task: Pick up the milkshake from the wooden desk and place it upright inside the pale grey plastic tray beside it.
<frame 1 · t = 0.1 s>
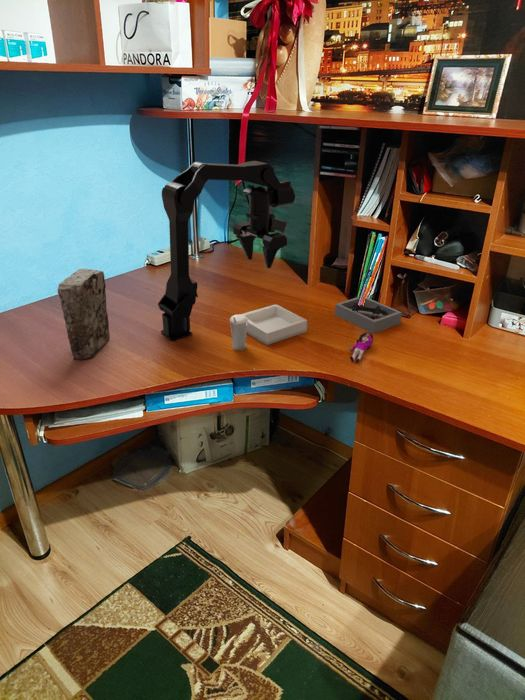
hand: (259, 263, 154), 15 cm above the table, tool pointing down, fingers open, 9 cm apart
stone block: (92, 349, 138), on the table
tray: (271, 329, 149), on the table
character figurine: (359, 354, 138), on the table
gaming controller: (366, 319, 156), resting in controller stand
milkshake: (238, 349, 139), on the table
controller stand: (367, 319, 156), on the table
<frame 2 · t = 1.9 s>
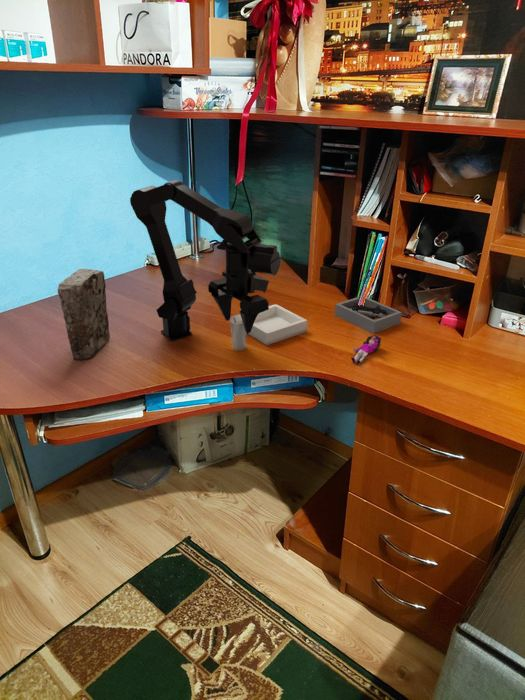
hand: (237, 326, 136), 6 cm above the table, tool pointing down, fingers open, 9 cm apart
character figurine: (364, 356, 137), on the table
everything else where it was.
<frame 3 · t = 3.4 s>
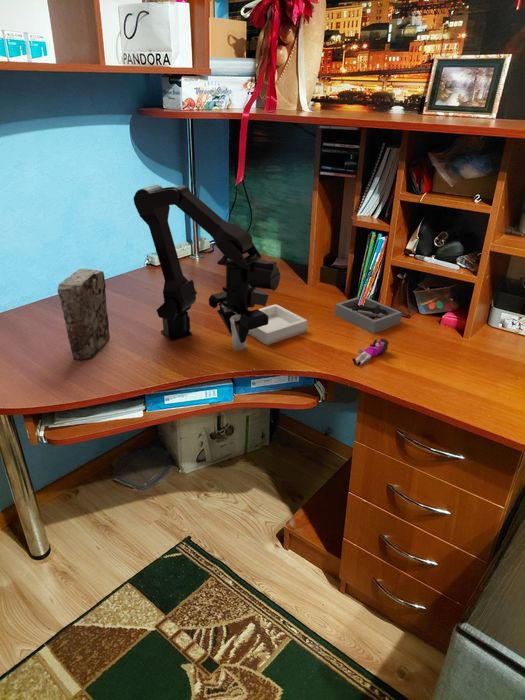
hand: (237, 339, 138), 3 cm above the table, tool pointing down, fingers closed on milkshake, 4 cm apart
character figurine: (368, 358, 136), on the table
milkshake: (238, 349, 139), on the table, touching gripper
everything else where it was.
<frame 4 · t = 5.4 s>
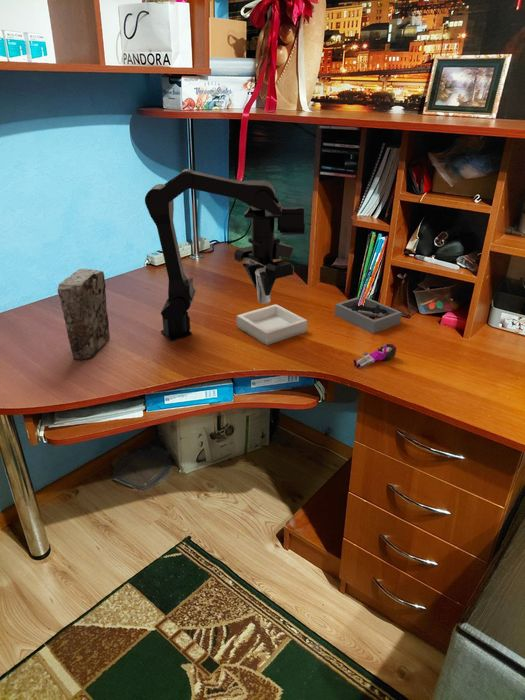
hand: (263, 292, 140), 13 cm above the table, tool pointing down, fingers closed on milkshake, 4 cm apart
character figurine: (373, 362, 134), on the table
milkshake: (263, 303, 141), point 10 cm above the table, touching gripper
everything else where it was.
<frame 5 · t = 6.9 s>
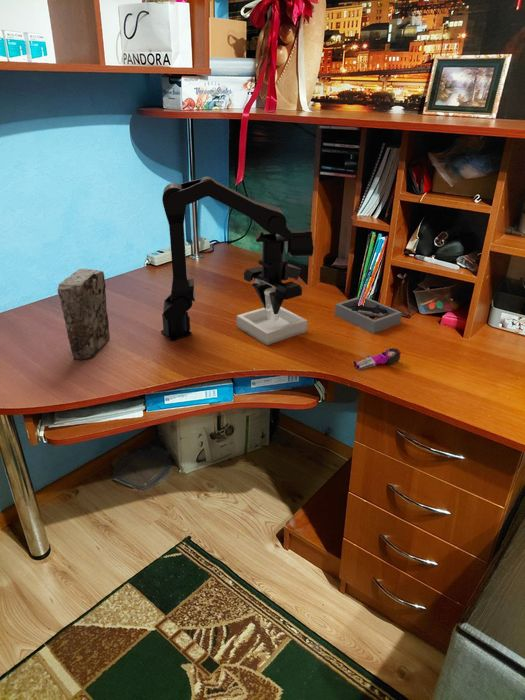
hand: (271, 311, 147), 5 cm above the table, tool pointing down, fingers closed on milkshake, 4 cm apart
character figurine: (375, 365, 133), on the table
milkshake: (272, 320, 148), point 3 cm above the table, touching gripper
everything else where it was.
when the fingers open (5 cm above the table, at t = 7.7 s): milkshake drops 2 cm, resting on tray.
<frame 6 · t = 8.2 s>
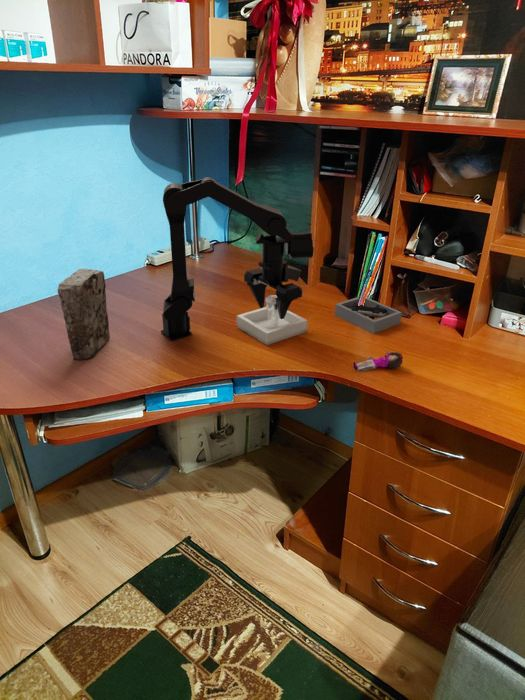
hand: (271, 313, 147), 5 cm above the table, tool pointing down, fingers open, 9 cm apart
character figurine: (376, 368, 131), on the table
milkshake: (272, 327, 149), point 1 cm above the table, touching tray
everything else where it was.
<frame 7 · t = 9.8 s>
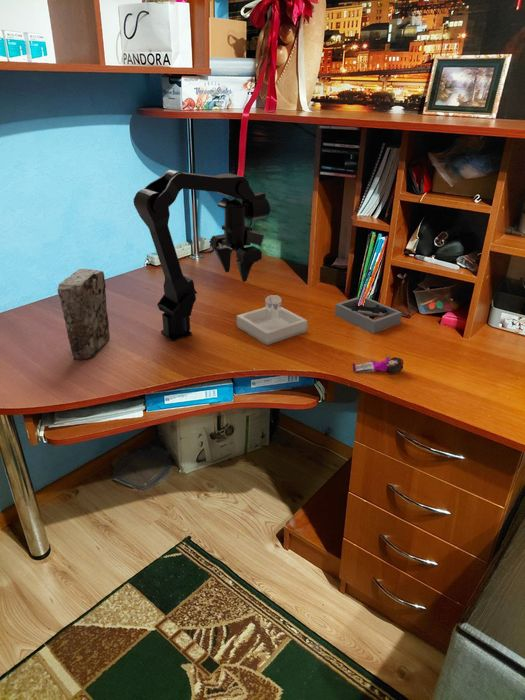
hand: (235, 276, 152), 12 cm above the table, tool pointing down, fingers open, 9 cm apart
character figurine: (376, 372, 130), on the table
everything else where it was.
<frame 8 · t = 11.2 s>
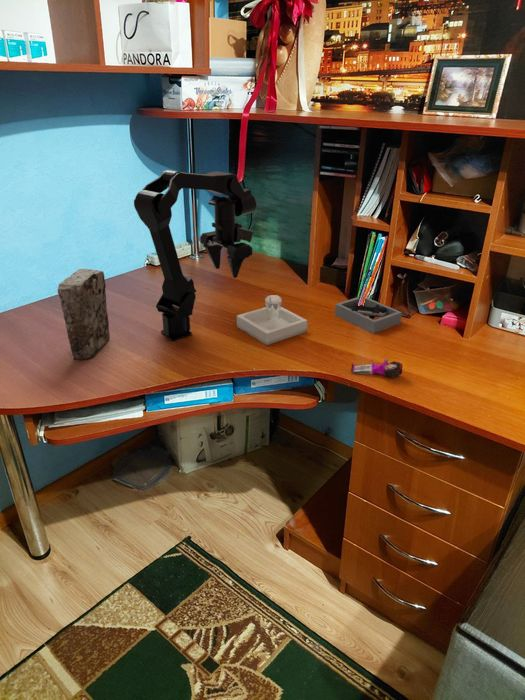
hand: (226, 272, 155), 12 cm above the table, tool pointing down, fingers open, 9 cm apart
character figurine: (375, 374, 129), on the table
everything else where it was.
at the end: milkshake inside the target area on the tray (0.4 cm from its centre), point 0.6 cm above the tray's base; milkshake tilted 0°; the gripper is holding nothing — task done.
